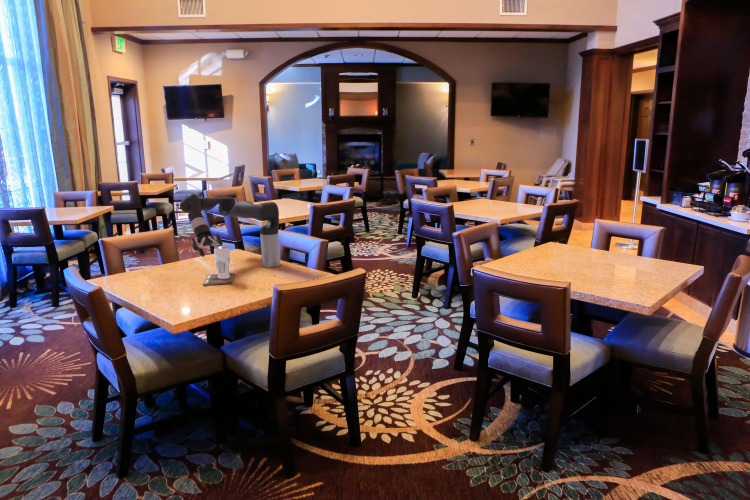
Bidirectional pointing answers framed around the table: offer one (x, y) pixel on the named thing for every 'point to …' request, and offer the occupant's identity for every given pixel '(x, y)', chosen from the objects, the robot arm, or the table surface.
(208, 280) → the board
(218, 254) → the beer glass
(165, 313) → the table surface
